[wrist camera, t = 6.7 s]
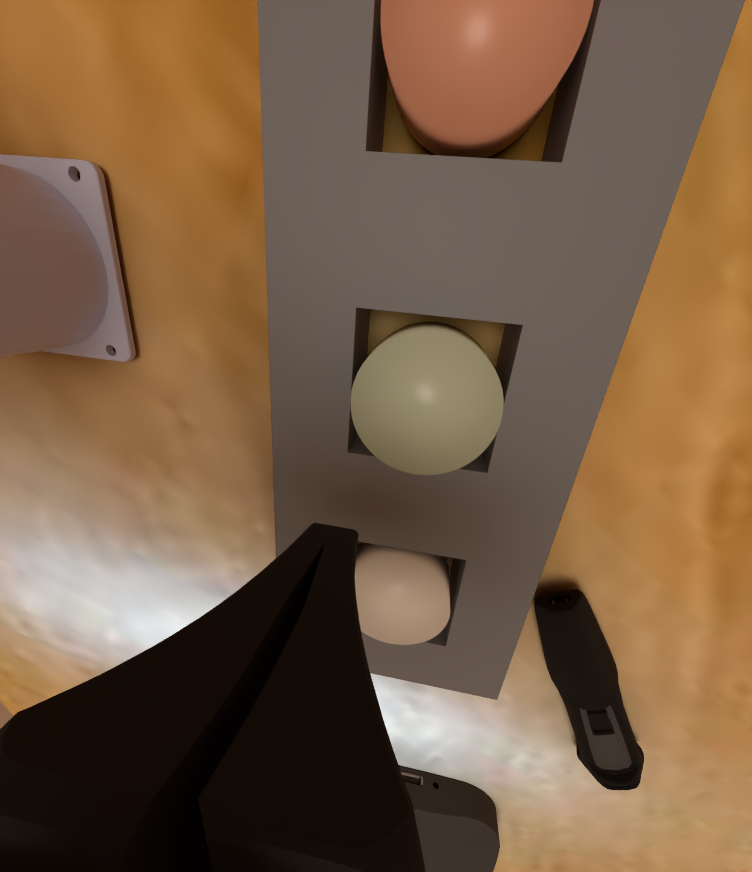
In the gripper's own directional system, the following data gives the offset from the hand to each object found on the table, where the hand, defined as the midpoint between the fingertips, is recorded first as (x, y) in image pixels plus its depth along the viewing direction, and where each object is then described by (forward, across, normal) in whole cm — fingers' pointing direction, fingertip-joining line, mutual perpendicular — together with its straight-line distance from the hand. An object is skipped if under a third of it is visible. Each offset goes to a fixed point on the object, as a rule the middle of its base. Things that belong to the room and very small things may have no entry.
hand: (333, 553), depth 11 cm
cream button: (+7, -2, +6) cm, 9 cm away
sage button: (+6, -2, -4) cm, 7 cm away
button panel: (+8, -2, -4) cm, 9 cm away
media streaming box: (+8, -6, +34) cm, 36 cm away
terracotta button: (+7, -2, -14) cm, 15 cm away
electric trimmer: (+8, -14, +13) cm, 21 cm away
